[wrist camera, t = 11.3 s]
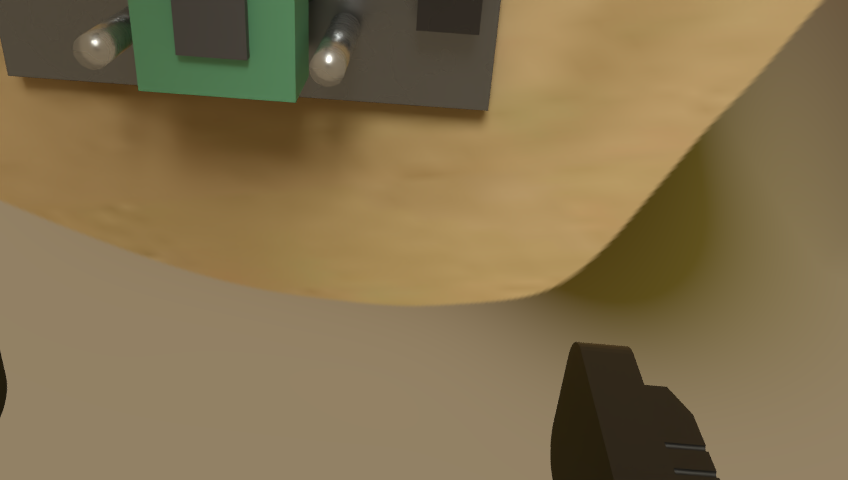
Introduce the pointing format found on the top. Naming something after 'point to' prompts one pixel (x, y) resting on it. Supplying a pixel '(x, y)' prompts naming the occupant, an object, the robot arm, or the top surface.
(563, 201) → the top surface
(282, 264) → the top surface
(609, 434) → the robot arm
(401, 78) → the chassis
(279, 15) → the board
